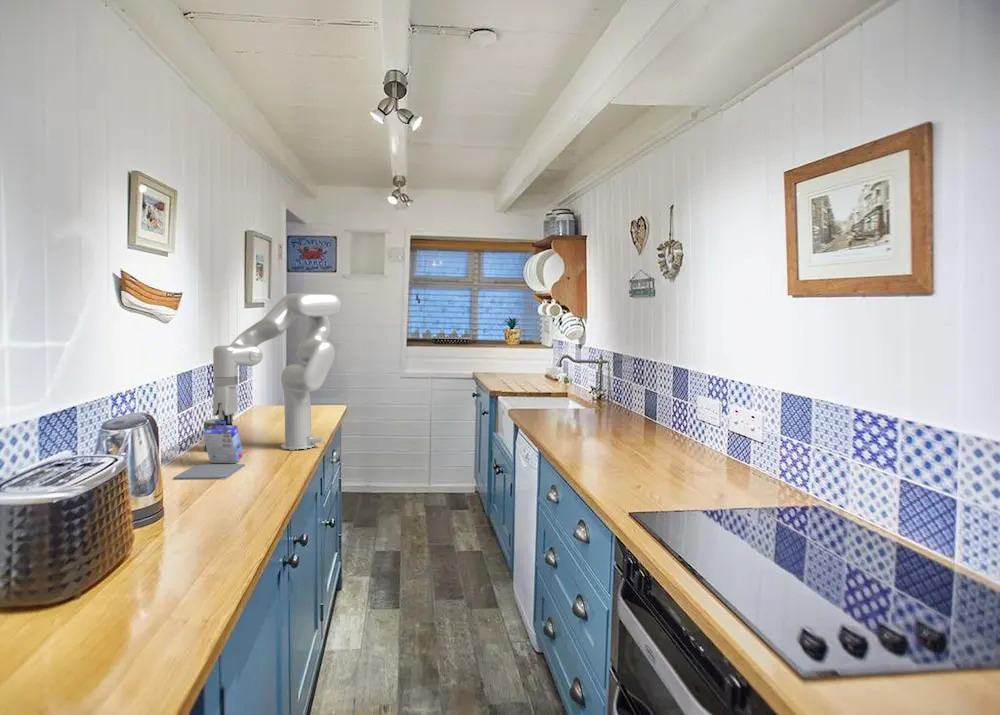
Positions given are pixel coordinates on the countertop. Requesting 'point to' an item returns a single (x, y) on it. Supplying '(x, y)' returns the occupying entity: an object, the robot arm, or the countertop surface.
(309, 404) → the robot arm
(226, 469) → the mat
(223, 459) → the ink cartridge box
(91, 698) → the countertop surface
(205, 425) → the canned tomato
